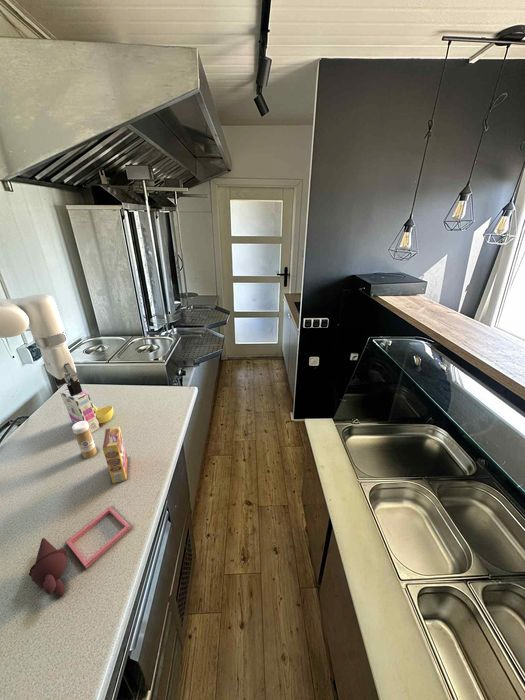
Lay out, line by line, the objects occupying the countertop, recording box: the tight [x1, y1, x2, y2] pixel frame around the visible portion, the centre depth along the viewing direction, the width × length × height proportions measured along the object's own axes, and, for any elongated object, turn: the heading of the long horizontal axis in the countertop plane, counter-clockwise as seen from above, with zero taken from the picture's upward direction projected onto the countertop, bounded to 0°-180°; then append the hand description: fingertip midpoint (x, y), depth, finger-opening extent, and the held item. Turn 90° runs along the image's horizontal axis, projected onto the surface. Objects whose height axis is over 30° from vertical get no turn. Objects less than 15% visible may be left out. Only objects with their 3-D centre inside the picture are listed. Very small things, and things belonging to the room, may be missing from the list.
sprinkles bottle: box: [71, 421, 98, 459], centre depth 97 cm, size 5×5×14 cm
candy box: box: [102, 426, 129, 484], centre depth 90 cm, size 9×4×15 cm, turn 20°
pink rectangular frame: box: [65, 506, 132, 569], centre depth 74 cm, size 12×10×2 cm
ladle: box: [92, 403, 114, 425], centre depth 121 cm, size 9×26×6 cm, turn 49°
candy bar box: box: [59, 388, 101, 434], centre depth 109 cm, size 11×5×16 cm, turn 60°
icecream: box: [28, 537, 68, 599], centre depth 66 cm, size 7×7×15 cm
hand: (69, 388), depth 89 cm, fingers open, 9 cm apart
